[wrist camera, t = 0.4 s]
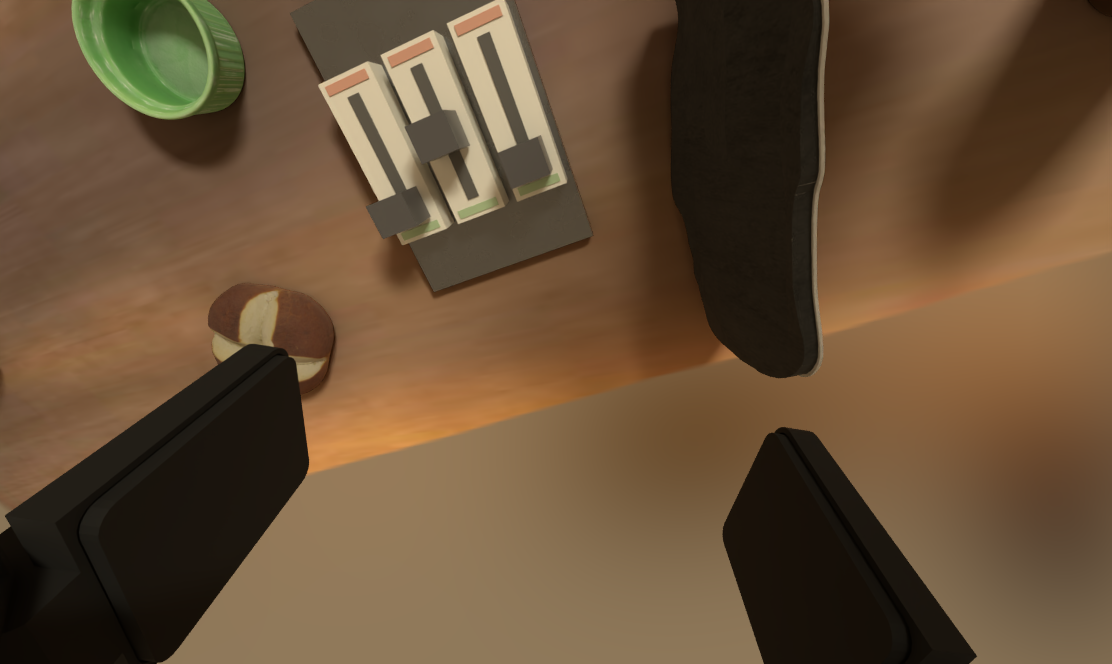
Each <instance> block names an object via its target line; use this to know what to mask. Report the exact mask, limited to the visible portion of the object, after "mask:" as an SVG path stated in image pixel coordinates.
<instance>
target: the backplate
mask: <svg viewBox="0 0 1112 664" xmlns="http://www.w3.org/2000/svg"><path fill="white" fill-rule="evenodd" d="M493 1H495V0H314V1H312V2H310V3H309V4H307V5H305V6H303V7H301V8H299V9H297V10H295V11H293V12H291V13H290V15H291V17H292V19H293V21H294V23H295V24H296V26H297V28H298V30H299V32H300V34H301V36H302V38H303V40H304V42H305V44H306V46H307V48H308V50H309V51H310V53H311V55H312V57H313V59H314V61H315V63H316V65H317V67H318V69H319V71H320V73H321V75H322V77H323V79H324V80H325V81H327V80H330V79H332V78H334V77H336V76H338V75H340V74H342V73H344V72H346V71H348V70H350V69H353V68H355V67H357V66H359V65H361V64H363V63H365V62H367V61H368V62H372V63H376V64H380V65H382V67H383V69H384V71H385V74H386V76H387V78H388V80H389V82H390V84H391V86H392V89H393V91H394V93H395V95H396V97H397V99H398V102H399V104H400V106H401V108H402V110H403V112H404V114H405V117H406V119H407V121H408V123H409V124H412V123H411V121H410V118H409V116H408V114H407V112H406V110H405V108H404V105H403V103H402V101H401V99H400V97H399V95H398V92H397V90H396V88H395V86H394V84H393V82H392V79H391V77H390V75H389V73H388V71H387V69H386V66H385V64H384V62H383V60H382V58H381V56H380V55H382V54H384V53H386V52H388V51H390V50H392V49H394V48H396V47H399V46H401V45H403V44H405V43H407V42H409V41H411V40H413V39H415V38H417V37H419V36H422V35H424V34H426V33H428V32H430V31H432V30H434V31H436V32H437V33H439V34H440V35H442V36H443V37H444V40H445V42H446V45H447V47H448V50H449V52H450V55H451V57H452V60H453V62H454V65H455V67H456V70H457V72H458V75H459V77H460V80H461V82H462V85H463V87H464V90H465V92H466V94H467V97H468V99H469V102H470V104H471V107H472V109H473V112H474V114H475V117H476V119H477V122H478V124H479V127H480V129H481V132H482V134H483V137H484V139H485V142H486V144H487V147H488V149H489V152H490V154H491V157H492V159H493V161H494V164H495V166H496V169H497V171H498V174H499V176H500V179H501V181H502V184H503V186H504V189H505V191H506V194H507V196H508V199H509V202H508V203H507V205H506V206H505V207H502V208H500V209H497V210H494V211H492V212H489V213H486V214H484V215H481V216H479V217H476V218H473V219H471V220H468V221H465V222H463V223H460V224H458V223H457V220H456V218H455V216H454V214H453V212H452V210H451V207H450V205H449V203H448V201H447V199H446V197H445V194H444V192H443V190H442V188H441V186H440V184H439V181H438V179H437V177H436V175H435V173H434V171H433V168H432V166H431V164H430V162H428V163H427V164H428V166H429V168H430V171H431V173H432V175H433V177H434V179H435V181H436V184H437V186H438V188H439V190H440V192H441V194H442V196H443V199H444V201H445V203H446V205H447V207H448V209H449V212H450V214H451V216H452V218H453V220H454V223H453V224H452V225H450V226H449V227H448V228H447V229H444V230H442V231H439V232H437V233H434V234H431V235H429V236H426V237H423V238H421V239H418V240H416V241H413V242H410V243H409V245H410V247H411V249H412V251H413V252H414V254H415V256H416V258H417V260H418V262H419V264H420V266H421V268H422V270H423V272H424V274H425V276H426V278H427V280H428V281H429V283H430V285H431V287H432V289H433V291H434V292H436V291H438V290H441V289H444V288H447V287H450V286H452V285H455V284H458V283H461V282H464V281H467V280H469V279H472V278H475V277H478V276H481V275H484V274H486V273H489V272H492V271H495V270H498V269H501V268H503V267H506V266H509V265H512V264H515V263H518V262H520V261H523V260H526V259H529V258H532V257H534V256H537V255H540V254H543V253H546V252H549V251H551V250H554V249H557V248H560V247H563V246H566V245H568V244H571V243H574V242H577V241H580V240H583V239H585V238H588V237H591V236H593V232H592V229H591V226H590V223H589V220H588V217H587V214H586V211H585V208H584V205H583V202H582V199H581V196H580V193H579V190H578V187H577V184H576V181H575V178H574V175H573V172H572V169H571V166H570V163H569V160H568V157H567V154H566V151H565V148H564V145H563V142H562V139H561V136H560V133H559V130H558V127H557V124H556V121H555V118H554V115H553V112H552V109H551V106H550V103H549V100H548V97H547V94H546V91H545V88H544V85H543V82H542V79H541V76H540V73H539V70H538V67H537V64H536V61H535V58H534V55H533V53H532V50H531V47H530V44H529V41H528V38H527V35H526V32H525V29H524V26H523V23H522V20H521V17H520V14H519V11H518V8H517V5H516V2H515V0H505V1H506V3H507V4H508V6H509V9H510V12H511V15H512V18H513V21H514V24H515V27H516V30H517V33H518V36H519V39H520V41H521V44H522V47H523V50H524V53H525V56H526V59H527V62H528V65H529V68H530V71H531V74H532V77H533V80H534V82H535V85H536V88H537V91H538V94H539V97H540V100H541V103H542V106H543V109H544V112H545V115H546V118H547V121H548V123H549V126H550V129H551V132H552V135H553V138H554V141H555V144H556V147H557V150H558V153H559V156H560V159H561V162H562V164H563V167H564V170H565V173H566V176H567V183H565V184H562V185H560V186H557V187H555V188H552V189H549V190H547V191H544V192H541V193H539V194H536V195H534V196H531V197H528V198H526V199H523V200H520V201H518V202H517V200H516V197H515V195H514V192H513V190H512V189H511V186H510V184H509V181H508V178H507V176H506V173H505V171H504V168H503V166H502V163H501V161H500V158H499V156H498V152H497V149H496V147H495V144H494V142H493V139H492V137H491V134H490V132H489V129H488V127H487V124H486V122H485V119H484V116H483V114H482V111H481V109H480V106H479V104H478V101H477V99H476V96H475V94H474V91H473V89H472V86H471V84H470V81H469V79H468V76H467V74H466V71H465V68H464V66H463V63H462V61H461V58H460V56H459V53H458V51H457V48H456V46H455V43H454V41H453V38H452V36H451V33H450V31H449V28H448V26H447V23H449V22H451V21H453V20H455V19H457V18H459V17H461V16H463V15H465V14H468V13H470V12H472V11H474V10H476V9H478V8H480V7H482V6H484V5H486V4H488V3H491V2H493Z"/></svg>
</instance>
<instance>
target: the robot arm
mask: <svg viewBox="0 0 1112 664" xmlns="http://www.w3.org/2000/svg"><path fill="white" fill-rule="evenodd" d="M308 467H309V456H308V449H307V441H306V433H305V426H304V418H303V411H302V403H301V395H300V388H299V380H298V372H297V365H296V361H295V360H294V358H292V357H289V355H288V353H287V351H286V350H285V349H283V348H278V347H272V346H266V345H259V344H248V345H246V346H244V347H243V348H241V349H240V350H239V351H237V352H236V353H234V354H233V355H231V356H230V357H229V358H227V359H226V360H224V361H223V362H222V363H220V364H219V365H217V366H216V367H215V368H213V369H212V370H210V371H209V372H207V373H206V374H205V375H203V376H202V377H200V378H199V379H198V380H196V381H195V382H193V383H192V384H190V385H189V386H188V387H186V388H185V389H183V390H182V391H181V392H179V393H178V394H176V395H175V396H173V397H172V398H171V399H169V400H168V401H166V402H165V403H164V404H162V405H161V406H159V407H158V408H156V409H155V410H154V411H152V412H151V413H149V414H148V415H147V416H145V417H144V418H142V419H141V420H139V421H138V422H137V423H135V424H134V425H132V426H131V427H130V428H128V429H127V430H125V431H124V432H123V433H121V434H120V435H118V436H117V437H115V438H114V439H113V440H111V441H110V442H108V443H107V444H106V445H104V446H103V447H101V448H100V449H98V450H97V451H96V452H94V453H93V454H91V455H90V456H89V457H87V458H86V459H84V460H83V461H81V462H80V463H79V464H77V465H76V466H74V467H73V468H72V469H70V470H69V471H67V472H66V473H64V474H63V475H62V476H60V477H59V478H57V479H56V480H55V481H53V482H52V483H50V484H49V485H47V486H46V487H45V488H43V489H42V490H40V491H39V492H38V493H36V494H35V495H33V496H32V497H30V498H29V499H28V500H26V501H25V502H23V503H22V504H21V505H19V506H18V507H16V508H15V509H14V510H12V511H11V512H9V513H8V514H6V515H5V517H6V519H7V520H8V522H9V524H10V525H11V527H9V528H8V529H7V530H5V531H4V532H3V533H1V534H0V664H157V663H158V662H163V661H165V660H167V659H168V658H169V657H170V656H172V655H173V654H174V652H175V651H176V650H177V649H178V648H179V646H180V645H181V644H182V642H183V641H184V640H185V638H186V637H187V636H188V634H189V633H190V632H191V630H192V629H193V628H194V626H195V625H196V624H197V622H198V621H199V619H200V618H201V617H202V615H203V614H204V613H205V611H206V610H207V609H208V607H209V606H210V605H211V603H212V602H213V601H214V599H215V598H216V597H217V595H218V594H219V593H220V591H221V590H222V589H223V587H224V586H225V585H226V583H227V582H228V581H229V579H230V578H231V576H232V575H233V574H234V573H235V571H236V570H237V568H238V567H239V566H240V565H241V563H242V562H243V560H244V559H245V558H246V556H247V555H248V554H249V552H250V551H251V550H252V548H253V547H254V546H255V544H256V543H257V542H258V540H259V539H260V538H261V536H262V535H263V534H264V532H265V531H266V530H267V528H268V527H269V526H270V524H271V523H272V522H273V520H274V519H275V518H276V516H277V515H278V514H279V512H280V511H281V509H282V508H283V507H284V505H285V504H286V503H287V501H288V500H289V498H290V497H291V496H292V495H293V493H294V492H295V491H296V489H297V488H298V487H299V485H300V484H301V483H302V481H303V480H304V478H305V476H306V474H307V471H308ZM723 542H724V545H725V548H726V551H727V554H728V557H729V560H730V563H731V566H732V569H733V572H734V575H735V578H736V581H737V584H738V587H739V590H740V593H741V596H742V599H743V602H744V605H745V608H746V611H747V614H748V617H749V620H750V623H751V626H752V629H753V632H754V635H755V638H756V641H757V644H758V647H759V650H760V653H761V656H762V659H763V662H764V664H969V663H970V662H971V661H973V660H974V658H976V657H977V656H976V654H975V653H974V651H973V650H972V649H971V647H970V646H969V644H968V643H967V642H966V640H965V639H964V638H963V636H962V635H961V633H960V632H959V631H958V629H957V628H956V627H955V625H954V624H953V623H952V621H951V620H950V618H949V617H948V616H947V614H946V613H945V612H944V610H943V609H942V608H941V606H940V605H939V603H938V602H937V600H936V599H935V598H934V596H933V595H932V594H931V592H930V591H929V589H928V588H927V587H926V585H925V584H924V583H923V581H922V580H921V579H920V577H919V576H918V574H917V573H916V572H915V570H914V569H913V568H912V566H911V565H910V564H909V562H908V561H907V559H906V558H905V557H904V555H903V554H902V552H901V551H900V550H899V548H898V547H897V546H896V544H895V543H894V541H893V540H892V539H891V537H890V536H889V535H888V533H887V532H886V530H885V529H884V528H883V526H882V525H881V524H880V522H879V521H878V520H877V518H876V517H875V515H874V514H873V513H872V511H871V510H870V508H869V507H868V506H867V504H866V503H865V502H864V500H863V499H862V497H861V496H860V495H859V493H858V492H857V491H856V489H855V488H854V487H853V485H852V484H851V483H850V481H849V480H848V478H847V477H846V476H845V474H844V473H843V471H842V470H841V469H840V467H839V466H838V464H837V463H836V462H835V460H834V459H833V458H832V456H831V455H830V453H829V452H828V451H827V449H826V448H825V447H824V445H823V444H822V442H821V441H820V440H819V438H818V437H817V436H816V435H815V434H814V433H813V432H810V431H805V430H798V429H792V428H786V427H781V428H778V429H777V430H776V431H775V433H769V434H768V435H767V436H766V438H765V440H764V442H763V444H762V446H761V448H760V450H759V452H758V454H757V456H756V458H755V461H754V463H753V465H752V467H751V469H750V471H749V474H748V475H747V477H746V479H745V482H744V483H743V486H742V488H741V490H740V492H739V494H738V496H737V498H736V500H735V502H734V504H733V506H732V509H731V511H730V513H729V515H728V517H727V519H726V521H725V523H724V526H723Z"/></svg>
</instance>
